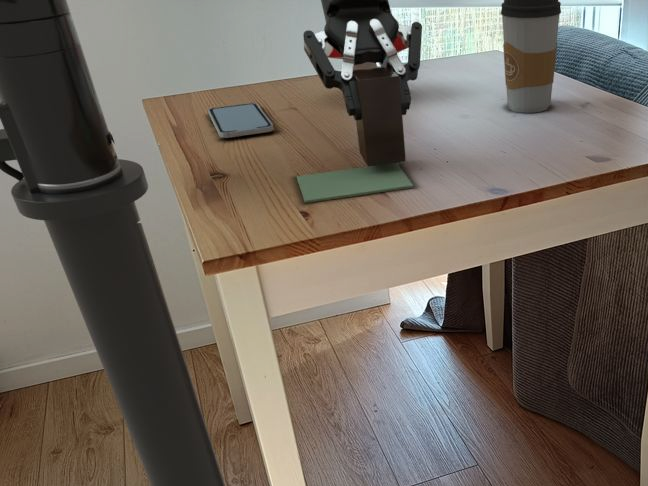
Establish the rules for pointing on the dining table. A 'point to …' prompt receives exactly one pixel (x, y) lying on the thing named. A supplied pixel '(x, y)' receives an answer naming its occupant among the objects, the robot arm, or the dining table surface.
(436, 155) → the dining table surface
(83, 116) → the robot arm
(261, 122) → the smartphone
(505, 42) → the coffee cup
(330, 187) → the mat
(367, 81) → the walnut block
